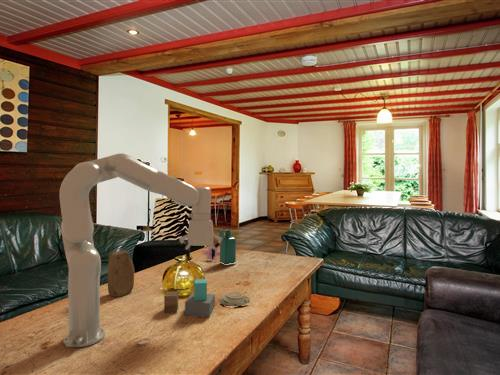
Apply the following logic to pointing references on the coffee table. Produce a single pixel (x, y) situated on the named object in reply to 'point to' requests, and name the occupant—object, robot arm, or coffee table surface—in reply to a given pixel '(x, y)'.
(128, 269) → the brown rounded oval lump
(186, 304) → the base block
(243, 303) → the grey stepped disc
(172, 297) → the walnut block
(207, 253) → the lily
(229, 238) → the green bottle
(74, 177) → the robot arm
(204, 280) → the teal block
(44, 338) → the coffee table surface
